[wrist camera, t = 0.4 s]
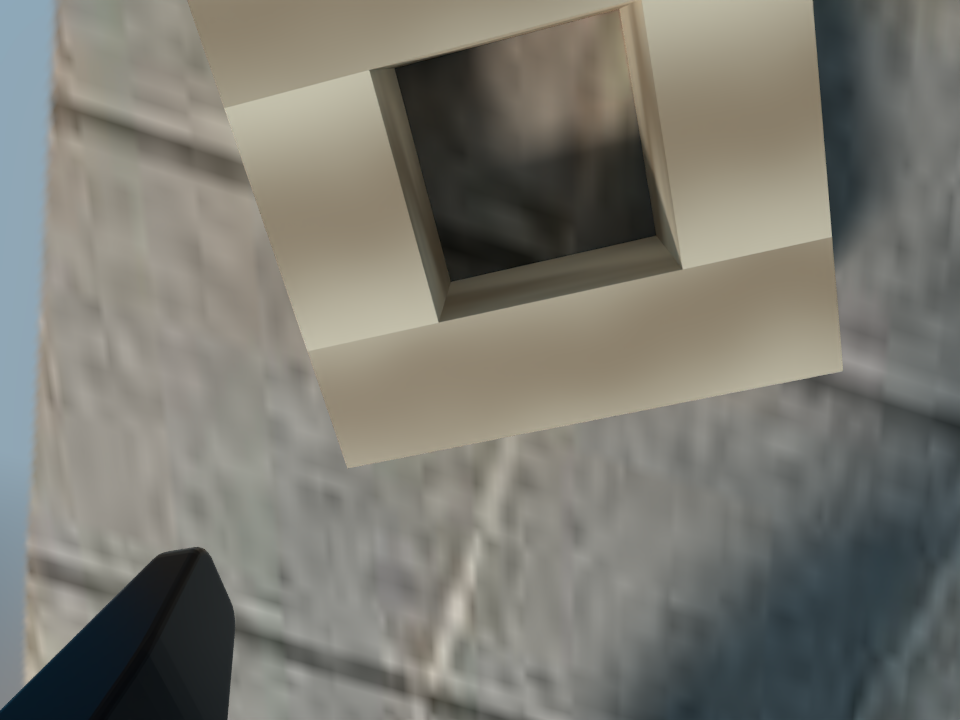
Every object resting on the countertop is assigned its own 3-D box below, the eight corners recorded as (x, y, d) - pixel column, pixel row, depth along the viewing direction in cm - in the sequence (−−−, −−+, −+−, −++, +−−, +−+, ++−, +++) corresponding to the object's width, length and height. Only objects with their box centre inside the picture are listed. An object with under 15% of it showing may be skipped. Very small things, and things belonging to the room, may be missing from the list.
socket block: (792, 322, 21) (843, 370, 18) (372, 409, 22) (347, 468, 19) (739, -186, 17) (792, -244, 14) (229, -38, 18) (167, -59, 15)
